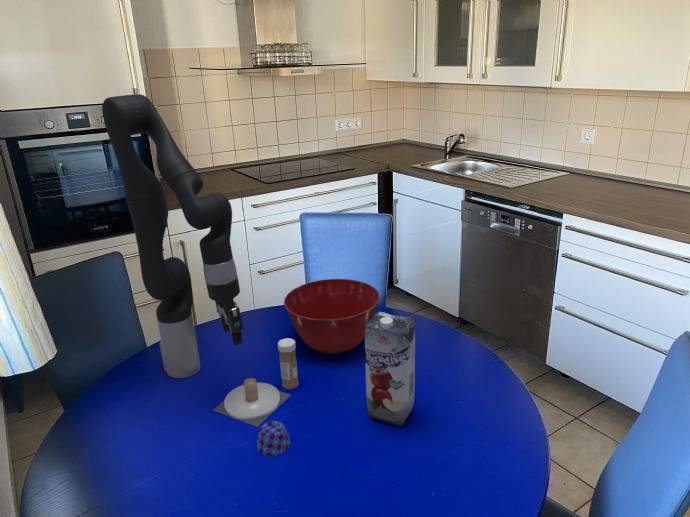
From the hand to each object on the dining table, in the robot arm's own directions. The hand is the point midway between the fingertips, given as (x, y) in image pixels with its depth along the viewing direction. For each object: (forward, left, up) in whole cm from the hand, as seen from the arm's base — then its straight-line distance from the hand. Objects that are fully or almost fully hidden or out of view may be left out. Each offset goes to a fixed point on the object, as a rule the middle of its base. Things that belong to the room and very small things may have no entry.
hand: (233, 336), depth 133 cm
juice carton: (+38, +11, -18) cm, 43 cm away
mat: (+5, -1, -18) cm, 18 cm away
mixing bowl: (+8, +35, -18) cm, 40 cm away
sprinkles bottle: (+9, +10, -18) cm, 22 cm away
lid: (+5, -1, -17) cm, 18 cm away
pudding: (+19, -11, -18) cm, 29 cm away
